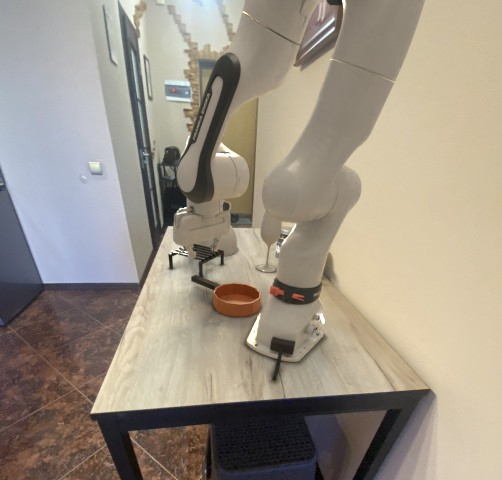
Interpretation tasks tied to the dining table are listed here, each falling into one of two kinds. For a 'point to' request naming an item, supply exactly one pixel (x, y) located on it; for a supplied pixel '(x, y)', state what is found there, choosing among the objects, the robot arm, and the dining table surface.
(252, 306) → the pan
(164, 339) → the dining table surface
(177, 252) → the rack
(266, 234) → the wineglass
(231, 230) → the kettle
